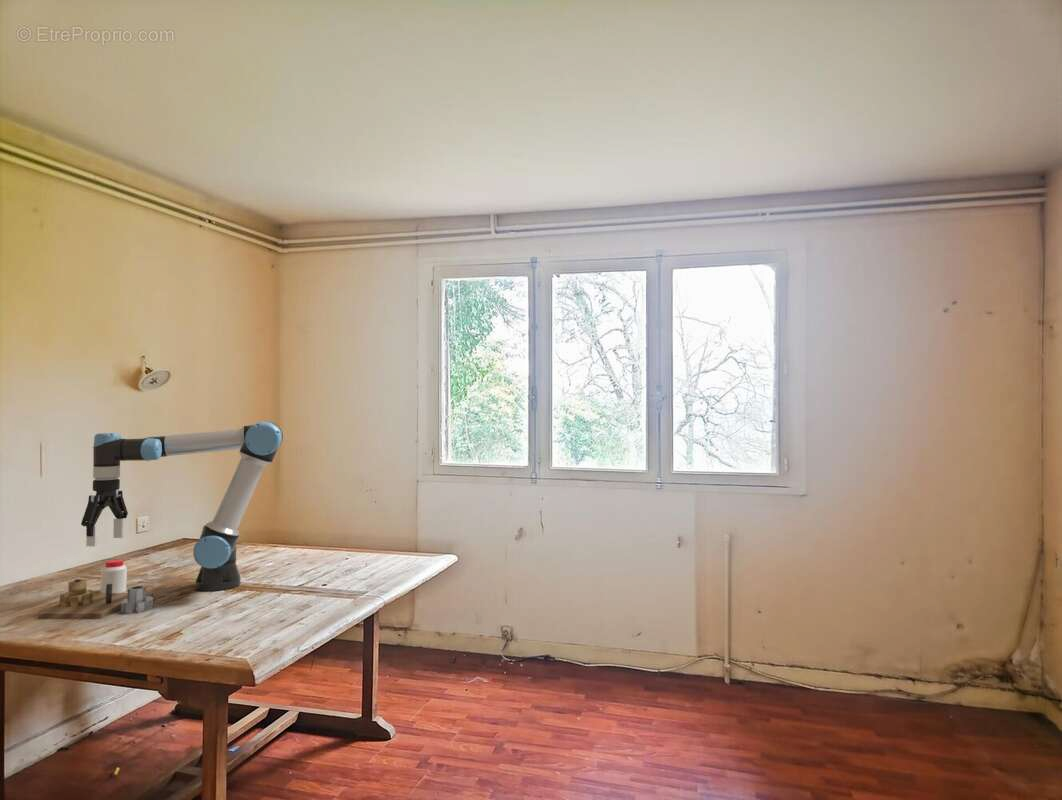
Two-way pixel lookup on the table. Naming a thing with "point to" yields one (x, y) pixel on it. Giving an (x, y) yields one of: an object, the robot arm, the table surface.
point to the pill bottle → (114, 576)
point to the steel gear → (136, 600)
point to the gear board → (84, 609)
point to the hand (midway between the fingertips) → (105, 541)
